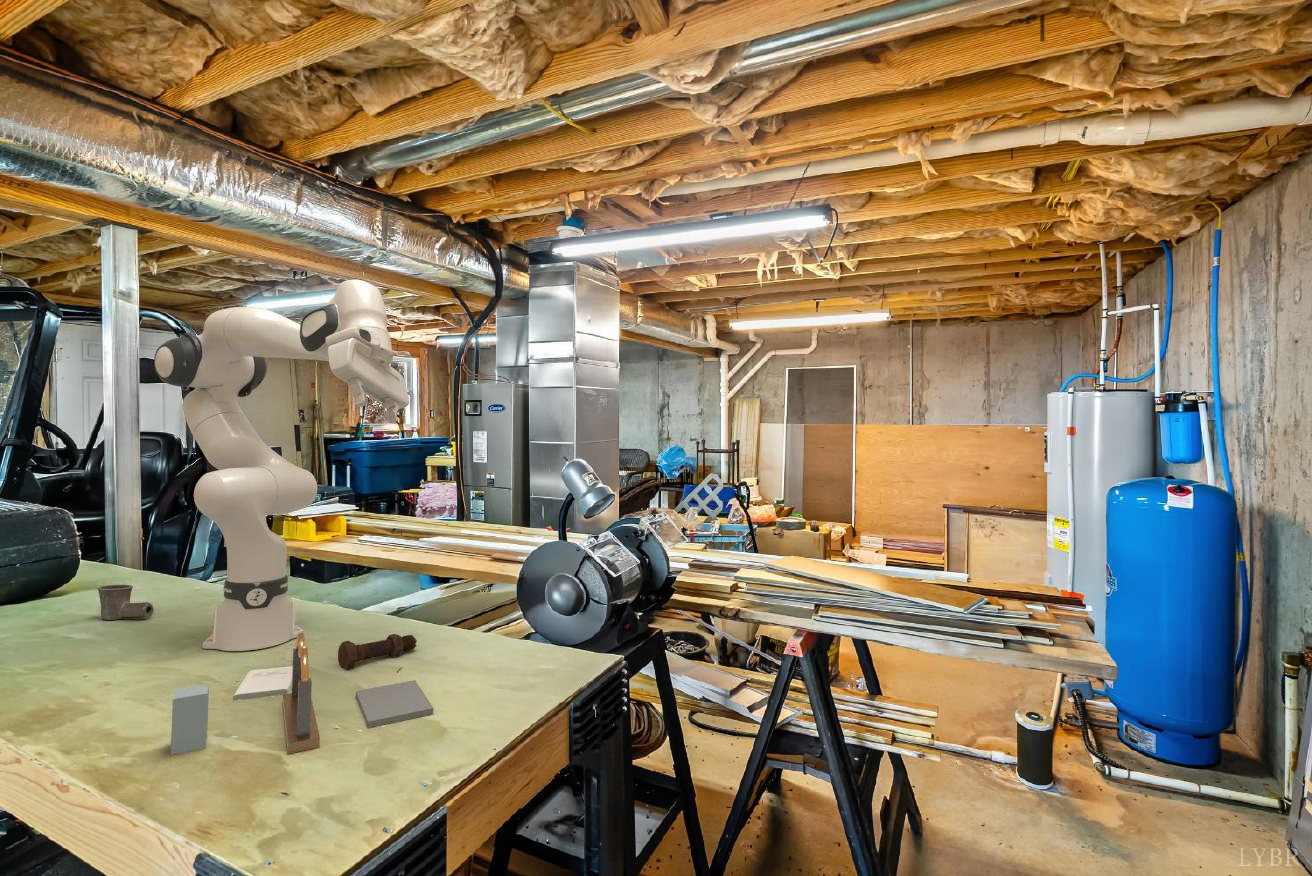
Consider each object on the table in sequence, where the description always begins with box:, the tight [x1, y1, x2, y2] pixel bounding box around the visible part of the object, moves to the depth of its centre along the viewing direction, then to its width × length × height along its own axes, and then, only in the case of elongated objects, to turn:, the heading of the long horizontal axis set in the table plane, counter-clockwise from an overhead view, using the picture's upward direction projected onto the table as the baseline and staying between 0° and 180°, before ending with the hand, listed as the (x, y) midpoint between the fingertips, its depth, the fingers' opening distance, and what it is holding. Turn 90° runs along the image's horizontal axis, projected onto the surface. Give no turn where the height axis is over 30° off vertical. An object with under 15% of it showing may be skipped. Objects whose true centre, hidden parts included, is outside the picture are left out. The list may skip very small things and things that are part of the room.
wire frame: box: [282, 631, 321, 755], centre depth 97 cm, size 20×4×14 cm, turn 34°
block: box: [170, 683, 210, 756], centre depth 89 cm, size 4×4×8 cm
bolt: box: [337, 633, 418, 671], centre depth 126 cm, size 6×5×15 cm
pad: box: [355, 679, 434, 729], centre depth 104 cm, size 14×10×1 cm
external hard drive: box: [232, 665, 292, 701], centre depth 112 cm, size 2×8×12 cm
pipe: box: [96, 584, 155, 621], centre depth 149 cm, size 6×13×8 cm, turn 89°
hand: (377, 413), depth 115 cm, fingers open, 8 cm apart
